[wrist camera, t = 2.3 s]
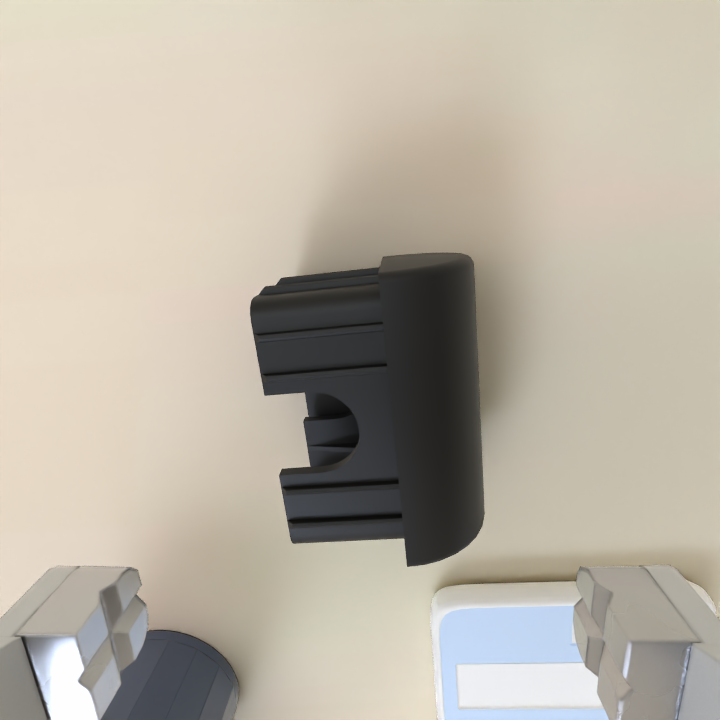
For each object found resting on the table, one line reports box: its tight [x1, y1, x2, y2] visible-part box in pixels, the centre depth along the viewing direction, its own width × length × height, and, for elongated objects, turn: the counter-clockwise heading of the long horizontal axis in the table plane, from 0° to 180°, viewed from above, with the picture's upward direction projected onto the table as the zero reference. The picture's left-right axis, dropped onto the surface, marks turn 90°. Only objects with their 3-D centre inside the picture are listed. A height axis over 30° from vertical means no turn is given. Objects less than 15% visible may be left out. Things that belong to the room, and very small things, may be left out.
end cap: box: [250, 253, 485, 567], centre depth 18 cm, size 10×7×7 cm
